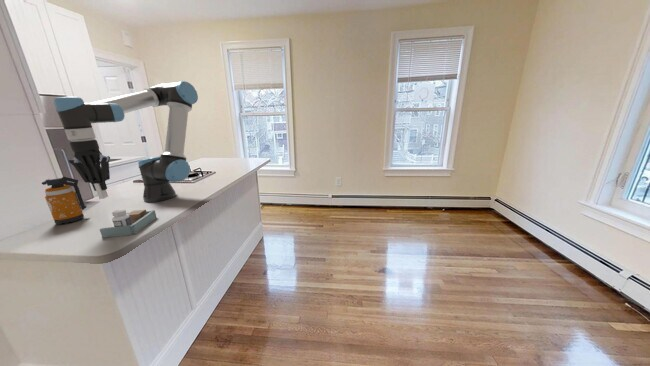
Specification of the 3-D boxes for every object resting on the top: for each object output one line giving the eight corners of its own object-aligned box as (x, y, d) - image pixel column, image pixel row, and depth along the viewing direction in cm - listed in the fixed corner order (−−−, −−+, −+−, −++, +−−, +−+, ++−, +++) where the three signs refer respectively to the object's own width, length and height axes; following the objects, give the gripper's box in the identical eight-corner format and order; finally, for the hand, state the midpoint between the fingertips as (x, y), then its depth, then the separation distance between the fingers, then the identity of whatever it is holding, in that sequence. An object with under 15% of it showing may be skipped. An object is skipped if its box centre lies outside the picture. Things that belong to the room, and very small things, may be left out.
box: (129, 220, 102) (127, 212, 101) (156, 217, 104) (154, 210, 103) (102, 237, 87) (99, 229, 86) (134, 234, 89) (132, 226, 88)
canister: (56, 221, 104) (39, 178, 99) (90, 213, 112) (76, 173, 106) (54, 227, 98) (36, 182, 93) (90, 218, 106) (76, 176, 100)
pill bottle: (131, 227, 95) (125, 207, 93) (135, 230, 92) (129, 209, 90) (114, 232, 91) (108, 211, 88) (118, 236, 88) (112, 214, 85)
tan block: (136, 221, 101) (133, 210, 100) (148, 219, 102) (145, 209, 101) (128, 226, 96) (125, 215, 95) (141, 224, 97) (138, 213, 96)
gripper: (53, 142, 83) (78, 202, 91) (94, 140, 85) (115, 199, 92) (71, 140, 90) (93, 196, 98) (109, 137, 92) (127, 193, 100)
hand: (103, 197), depth 95 cm, fingers closed
